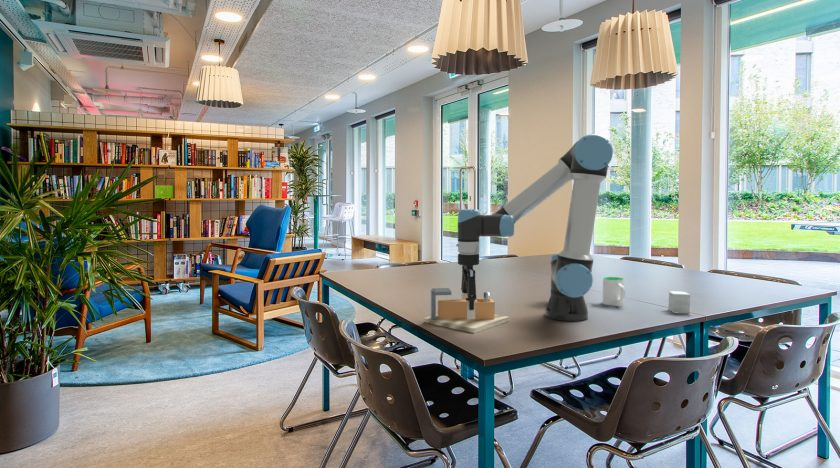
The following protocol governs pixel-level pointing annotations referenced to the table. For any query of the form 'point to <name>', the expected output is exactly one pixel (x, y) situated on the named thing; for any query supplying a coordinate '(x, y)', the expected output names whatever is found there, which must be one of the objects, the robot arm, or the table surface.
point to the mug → (613, 291)
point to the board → (468, 323)
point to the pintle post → (486, 296)
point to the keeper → (433, 299)
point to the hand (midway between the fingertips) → (468, 314)
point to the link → (465, 309)
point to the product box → (679, 302)
